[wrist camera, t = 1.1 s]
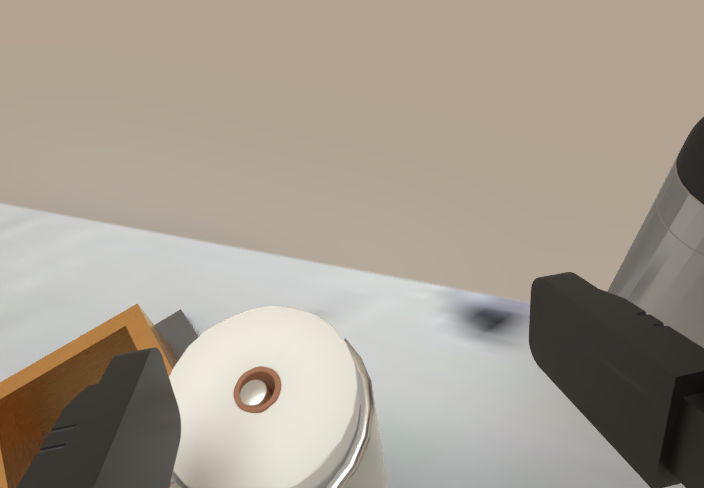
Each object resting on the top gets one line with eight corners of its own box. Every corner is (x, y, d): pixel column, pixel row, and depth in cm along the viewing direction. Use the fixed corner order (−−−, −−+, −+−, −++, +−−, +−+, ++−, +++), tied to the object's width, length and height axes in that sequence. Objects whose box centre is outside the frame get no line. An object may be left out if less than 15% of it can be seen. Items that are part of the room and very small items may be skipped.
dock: (186, 317, 45) (155, 270, 40) (277, 465, 35) (251, 428, 29) (-5, 434, 39) (-73, 397, 34) (36, 658, 28) (-54, 657, 23)
